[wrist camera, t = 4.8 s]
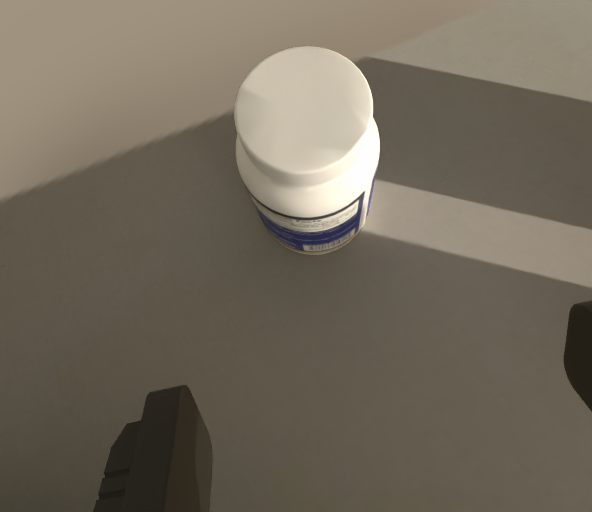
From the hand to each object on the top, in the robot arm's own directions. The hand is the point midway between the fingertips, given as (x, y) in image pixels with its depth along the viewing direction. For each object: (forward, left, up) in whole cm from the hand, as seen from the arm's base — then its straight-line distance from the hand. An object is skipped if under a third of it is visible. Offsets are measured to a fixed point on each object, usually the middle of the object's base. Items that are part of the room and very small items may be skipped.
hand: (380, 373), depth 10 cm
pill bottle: (-3, -8, -14) cm, 17 cm away
